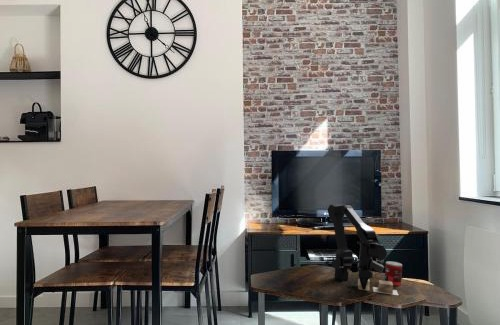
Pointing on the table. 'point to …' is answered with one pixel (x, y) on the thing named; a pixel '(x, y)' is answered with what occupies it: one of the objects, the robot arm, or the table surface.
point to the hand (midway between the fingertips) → (363, 287)
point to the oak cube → (366, 285)
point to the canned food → (393, 272)
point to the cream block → (385, 286)
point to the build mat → (383, 292)
